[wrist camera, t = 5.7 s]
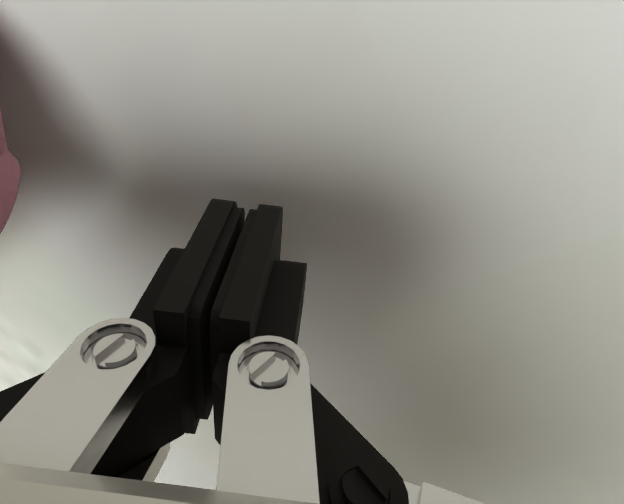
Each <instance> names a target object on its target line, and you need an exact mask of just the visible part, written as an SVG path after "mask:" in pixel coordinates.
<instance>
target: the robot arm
mask: <svg viewBox="0 0 624 504" xmlns="http://www.w3.org/2000/svg"><path fill="white" fill-rule="evenodd" d="M282 216H283V208H282V207H279V206H271V205H262V204H259V206H258V209H257V210H253V209H250V210H249V213H248V215H247V218H246V221H245V223H244V220H245V214H244V208H237V204H236V202H235V201H227V200H219V199H212V200H211V201H210V203H209V205H208V207H207V209H206V211H205V212H204V214H203V216H202V218H201V220H200V222H199V224H198V226H197V227H196V229H195V231H194V233H193V235H192V237H191V239H190V241H189V242H188V244H187V246H186V248H185V249H180V248H171V249H170V250H169V251H168V253H167V254H166V256H165V258H164V260H163V261H162V263H161V265H160V266H159V268H158V270H157V272H156V273H155V275H154V277H153V278H152V280H151V282H150V284H149V285H148V287H147V289H146V290H145V292H144V294H143V296H142V297H141V299H140V301H139V303H138V304H137V306H136V308H135V309H134V311H133V313H132V315H131V316H130V318H117V319H110V320H106V321H103V322H100V323H97V324H95V325H93V326H92V327H90V328H88V329H86V330H85V331H84V332H83V333H82V334H81V335H79V336H78V337H77V338H76V340H75V341H74V342H73V343H72V344H71V345H70V346H69V347H68V348H67V349H66V350H65V352H64V353H63V354H62V355H61V356H60V357H59V358H58V359H57V360H56V361H55V363H54V364H53V365H52V366H51V367H50V368H49V369H48V370H47V371H46V372H45V373H43V374H40V375H38V376H36V377H33V378H31V379H29V380H26V381H24V382H22V383H19V384H17V385H15V386H12V387H10V388H8V389H5V390H3V391H1V392H0V504H485V503H482V502H480V501H477V500H474V499H471V498H468V497H466V496H463V495H460V494H457V493H454V492H451V491H449V490H446V489H443V488H440V487H437V486H435V485H432V484H429V483H426V482H423V483H422V486H421V487H420V486H417V485H415V484H412V483H409V482H406V481H404V480H403V479H402V478H401V476H400V475H399V474H398V472H397V471H396V470H395V468H394V467H393V466H392V465H391V464H390V463H389V462H388V461H387V460H386V459H385V458H384V457H383V456H382V455H381V454H380V453H379V452H378V451H377V450H376V449H375V448H374V447H373V446H372V445H371V444H370V443H369V442H368V441H367V440H366V439H365V438H364V437H363V436H362V435H361V434H360V433H359V432H358V431H357V430H356V429H355V428H354V427H353V426H352V425H351V424H350V423H349V422H348V421H347V420H346V419H345V418H344V417H343V416H342V415H341V414H340V413H339V412H338V411H337V410H336V409H335V408H334V407H333V406H332V405H331V404H330V403H329V402H328V401H327V400H326V399H325V398H324V397H323V396H322V395H321V394H320V393H319V392H318V391H317V390H316V389H315V388H314V387H313V386H312V385H311V384H310V375H309V364H308V360H307V357H306V355H305V353H304V352H303V350H302V349H301V348H300V347H299V346H298V345H297V342H298V336H299V329H300V322H301V315H302V307H303V298H304V289H305V279H306V269H307V263H299V262H291V261H282V260H280V251H281V233H282ZM212 406H213V408H214V427H215V439H216V440H217V442H218V443H219V444H220V456H219V466H218V476H217V487H216V490H210V489H202V488H195V487H187V486H179V485H172V484H164V483H156V482H154V480H155V478H156V476H157V474H158V473H159V471H160V469H161V467H162V465H163V463H164V461H165V459H166V458H167V455H168V452H169V449H170V442H171V441H173V440H175V439H177V438H178V437H180V436H182V435H183V434H184V433H191V434H195V432H196V429H197V426H198V423H199V420H200V419H208V418H209V415H210V412H211V409H212Z"/></svg>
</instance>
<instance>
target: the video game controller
mask: <svg viewBox="0 0 624 504" xmlns="http://www.w3.org/2000/svg"><path fill="white" fill-rule="evenodd" d="M20 177H21V168H20V165H19V162H18V159H16V158H15V157H14V156H13V155H12V154H11V152H10V151H9V150H8V148H7V143H6V137H5V131H4V126H3V120H2V114H1V108H0V234H1V232H2V230H3V228H4V226H5V224H6V222H7V220H8V218H9V216H10V213H11V211H12V208H13V206H14V203H15V200H16V197H17V193H18V188H19V182H20Z"/></svg>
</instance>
